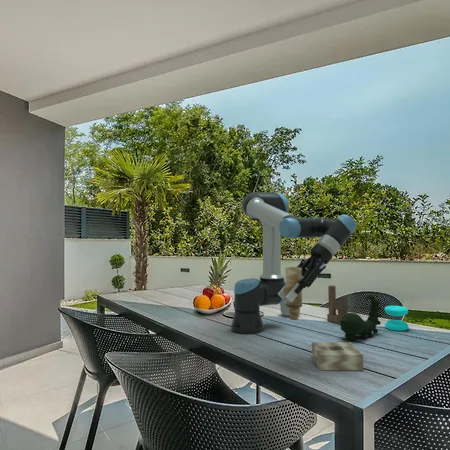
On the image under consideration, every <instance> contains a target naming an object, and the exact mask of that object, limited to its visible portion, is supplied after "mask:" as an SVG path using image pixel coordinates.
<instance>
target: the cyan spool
mask: <svg viewBox="0 0 450 450" xmlns="http://www.w3.org/2000/svg"><path fill="white" fill-rule="evenodd" d="M384 312H385V313H386V314H387V315H389V316H393V317H404V316H406V315H408V314H409V309H408V308H407V307H405V306H402V305H401V306H400V305H387V306H385V307H384ZM384 327H385V328H386V329H388V330H390V331H394V332H395V331H396V332H403V331H407V330H409V324H408V323H407V322H406V321H404V320H401V319H389V320H386V321H385V322H384Z"/></svg>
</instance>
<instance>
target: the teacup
mask: <svg viewBox="0 0 450 450" xmlns="http://www.w3.org/2000/svg"><path fill="white" fill-rule="evenodd" d="M279 306H280V307H279V308H280V313H281V314H282V315H283V317H286V318H288V317H289V318H290V313H289V307H287V306H286V300H285V302H283V303H280V304H279ZM300 312H301V307H299V313H298V315H299V314H300Z"/></svg>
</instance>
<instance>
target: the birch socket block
mask: <svg viewBox="0 0 450 450" xmlns="http://www.w3.org/2000/svg"><path fill="white" fill-rule="evenodd" d="M311 357H312V358H313V361H314V362H315V363H316V366H317V367H318V369H319V371H364V354H363V353H362V352H361V351H360V350H359V349H358V348H357V347H356V346H354V344H353V343H352V342H349V341H348V342H347V341H345V342H344V341H343V342H341V341H340V342H337V341H336V342H335V341H334V342H333V341H332V342H330V341H329V342H325V341H324V342H321V341H320V342H318V341H317V342H311Z"/></svg>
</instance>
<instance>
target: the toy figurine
mask: <svg viewBox="0 0 450 450" xmlns="http://www.w3.org/2000/svg"><path fill="white" fill-rule="evenodd" d="M367 300H369V301H370V306H369V311H368V316H367V318H366V320H364V319H363V318H362V317H361V315H359V314H357V313H355V312H348V313H347V314H345V315H344V316H343V317H342V319H341V320H340V324H339V326H340V331H343V333H344V338H345V339H346V340H348V341H354V340H355V337H356V336H361V338H363V339H366V338H368V337H369V338H373V336H374V334H378V333H379V330H378V329H377V325H378V326H379V325H381V320H379V318H381V317H382V314H381V313H379V311H381V310H382V307H381V306H379V305H380V304H382V302H381V301H380V300H379V299H377V298H376V296H375V295H374V294H372V293H371V294H370V293H369V294H367V295H366V296H365V301H367Z"/></svg>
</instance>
